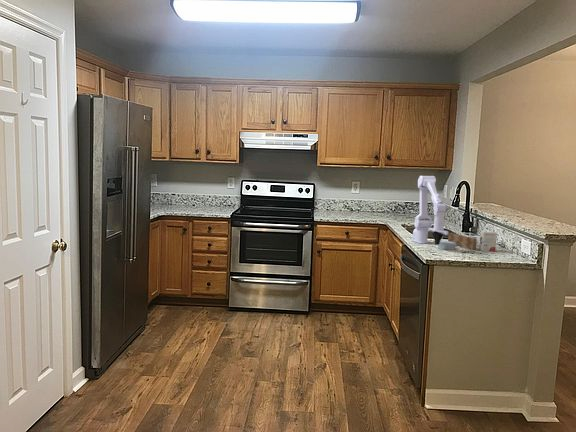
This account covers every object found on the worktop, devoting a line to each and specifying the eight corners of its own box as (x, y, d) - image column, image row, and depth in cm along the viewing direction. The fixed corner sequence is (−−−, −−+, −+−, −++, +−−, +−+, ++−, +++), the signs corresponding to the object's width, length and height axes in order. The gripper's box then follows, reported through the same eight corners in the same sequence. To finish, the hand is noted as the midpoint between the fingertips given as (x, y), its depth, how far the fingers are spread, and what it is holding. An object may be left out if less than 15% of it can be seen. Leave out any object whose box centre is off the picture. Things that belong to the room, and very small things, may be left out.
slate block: (437, 247, 300) (438, 241, 299) (447, 247, 303) (447, 240, 303) (446, 250, 293) (446, 243, 293) (455, 249, 297) (456, 242, 296)
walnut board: (447, 243, 312) (448, 233, 311) (451, 243, 314) (451, 233, 313) (472, 250, 295) (473, 238, 294) (475, 249, 296) (476, 238, 296)
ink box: (492, 249, 298) (493, 231, 297) (495, 251, 293) (497, 232, 292) (478, 249, 298) (480, 230, 296) (481, 251, 293) (483, 232, 291)
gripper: (425, 221, 296) (423, 242, 298) (443, 224, 284) (441, 247, 286) (433, 220, 300) (432, 241, 302) (451, 224, 287) (449, 246, 289)
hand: (437, 244), depth 294 cm, fingers closed
